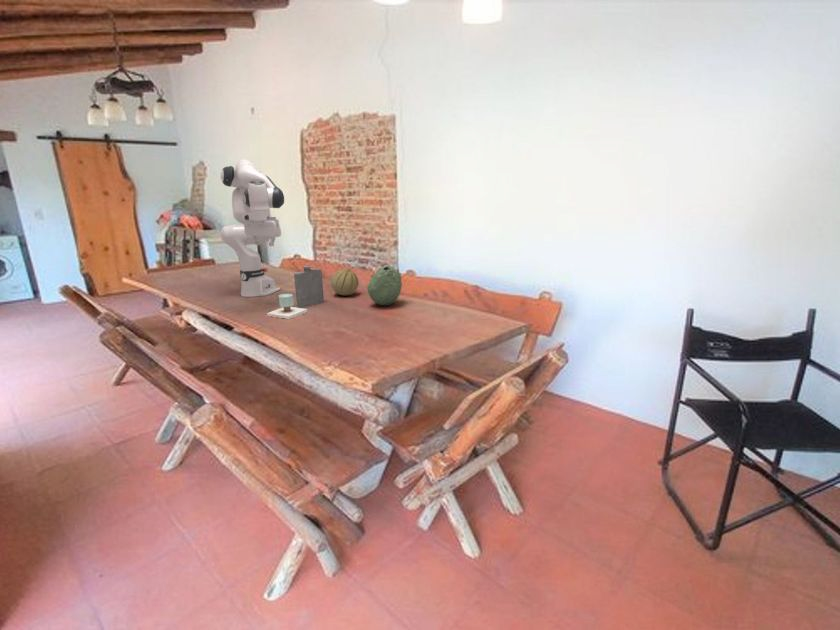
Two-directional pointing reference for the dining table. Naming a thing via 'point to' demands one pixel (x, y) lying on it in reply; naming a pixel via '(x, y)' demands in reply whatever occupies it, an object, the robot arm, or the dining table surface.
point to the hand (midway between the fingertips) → (264, 245)
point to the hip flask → (308, 287)
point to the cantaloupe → (344, 282)
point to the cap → (286, 300)
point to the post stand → (287, 312)
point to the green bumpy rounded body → (385, 285)
